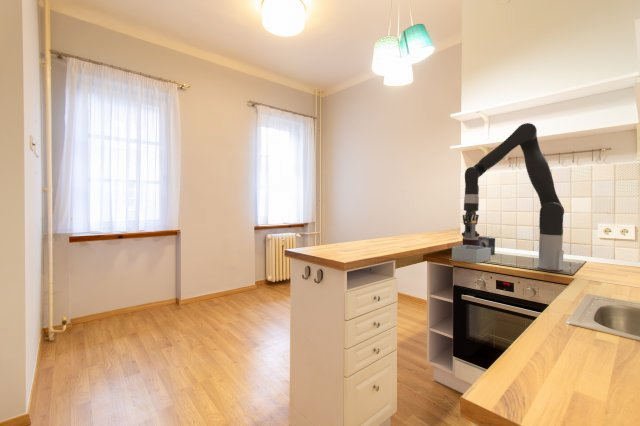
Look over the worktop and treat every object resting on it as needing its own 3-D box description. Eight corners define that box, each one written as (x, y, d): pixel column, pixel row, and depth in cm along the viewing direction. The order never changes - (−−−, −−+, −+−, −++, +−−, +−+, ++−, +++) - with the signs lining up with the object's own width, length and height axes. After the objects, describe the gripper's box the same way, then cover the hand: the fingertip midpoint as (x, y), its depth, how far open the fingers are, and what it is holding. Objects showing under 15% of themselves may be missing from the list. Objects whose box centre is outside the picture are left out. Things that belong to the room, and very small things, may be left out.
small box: (473, 252, 196) (473, 236, 196) (480, 251, 199) (480, 236, 199) (488, 255, 187) (488, 238, 186) (495, 254, 190) (495, 238, 189)
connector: (475, 238, 172) (476, 220, 171) (471, 238, 169) (472, 220, 168) (467, 237, 175) (468, 220, 175) (464, 237, 172) (464, 220, 172)
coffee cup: (458, 254, 189) (458, 230, 189) (465, 252, 195) (466, 229, 195) (474, 256, 181) (474, 231, 181) (481, 254, 187) (482, 231, 187)
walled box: (490, 260, 171) (490, 247, 170) (476, 263, 161) (476, 250, 161) (466, 256, 182) (466, 244, 182) (451, 259, 173) (452, 247, 172)
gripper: (471, 202, 164) (470, 233, 165) (484, 202, 172) (482, 232, 173) (458, 202, 170) (457, 232, 171) (471, 202, 178) (470, 231, 179)
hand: (470, 232), depth 172 cm, fingers closed on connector, 4 cm apart
